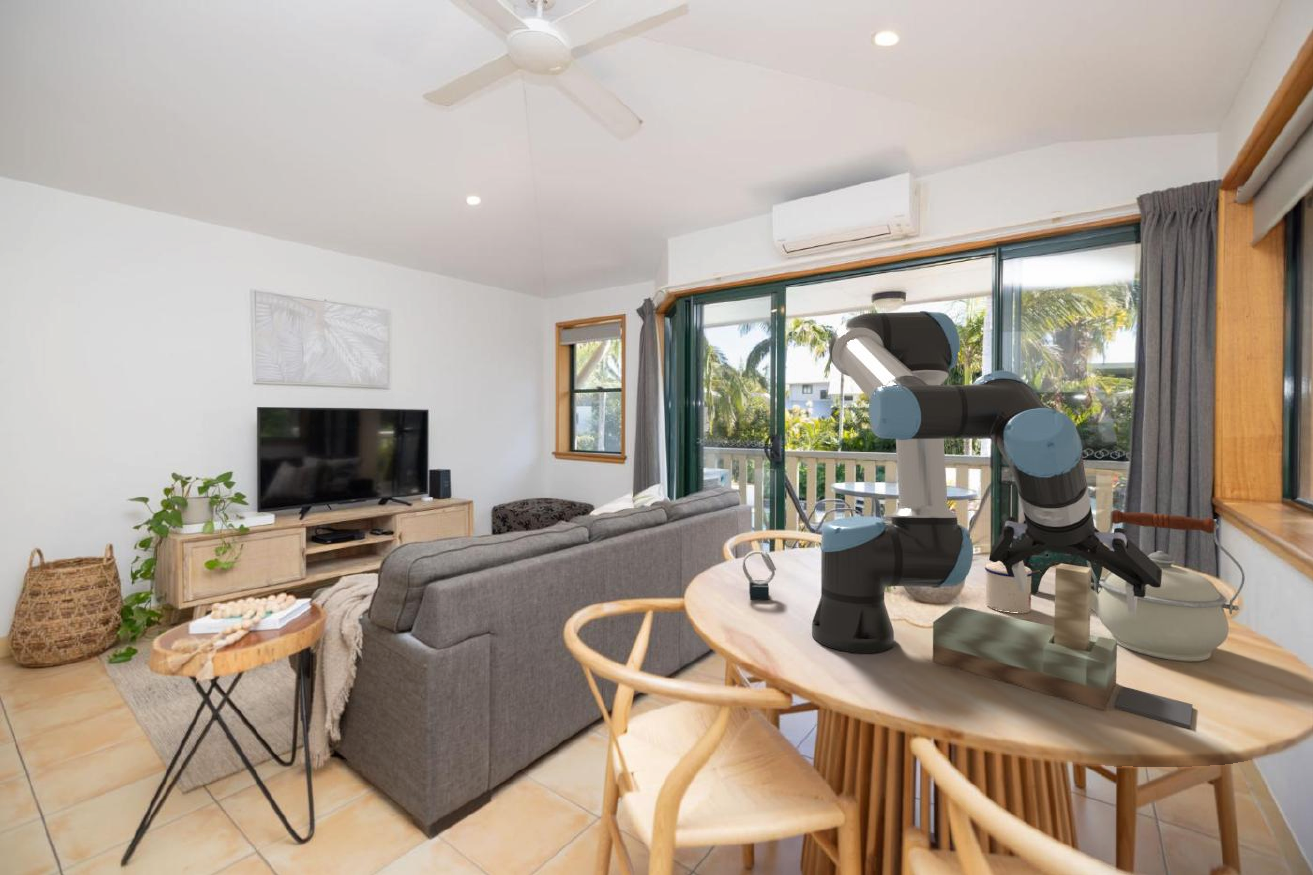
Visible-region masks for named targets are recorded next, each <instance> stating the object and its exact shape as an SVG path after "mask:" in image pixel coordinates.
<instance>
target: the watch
mask: <svg viewBox="0 0 1313 875" xmlns="http://www.w3.org/2000/svg"><path fill="white" fill-rule="evenodd" d="M755 554H757V555H758V554H760V555H761V557H762V560H763V562H764V563H765V566H766V568H767V569H768V570H769V571H770V572H771V575H770V576H769V577H768V578H767V579H765V580H763V579H762V580H761V579H759V580H758V579H756V580H755V579H753V576H752V575H751V574H750V573H749V570H748V569H747V566H746V560H747V559H748V558H749V557H750V556H752V555H755ZM742 570H743V573H744V575H745V578H746V579H747V580H748V585H749V586H748V587H749V590H748V592H749V599H750V600H751V601H753V600H756V601H769V600H770V598H769V596H770V592H769V591H770V589H769V588H770V587H769V583H770V582H771V581H772V580H773V579H774V577H775V574H776V573H775V571H777V568H776V565H775V564H774V562H773V559H772V558H771V556H770V554H769V553H768V552H767V551H763V550H758V549H755V550H751V551H749V552H748V553H747V554H745V556H744V557H743V560H742Z"/></svg>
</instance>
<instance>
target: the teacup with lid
mask: <svg viewBox="0 0 1313 875" xmlns="http://www.w3.org/2000/svg"><path fill="white" fill-rule="evenodd" d="M1024 567H1025V566H1024ZM984 570H985V605H986V606H987V607H988V606H989V607H988V608H990V607H991V608H990V609H992V608H993V609H992V610H994V609H997V610H1002V611H1009V612H1018V613H1024V614H1027V613H1030V611H1031V610H1032V609H1031V608H1032V607H1031V606H1032V593H1031V576H1032V574H1033V573H1032V571H1031V569H1030V568H1028V567H1025V570H1026V573H1027V577H1028V580H1027V584H1026V589H1025V592H1020V591H1019V589H1018V586H1017V583H1016V580H1015V576H1012V575H1009V574H1008V573H1007V570H1006V567H1005V565H1003V563H1002V562H1000V561H998V562H990V563H986V565H985V566H984ZM997 610H996V611H997Z"/></svg>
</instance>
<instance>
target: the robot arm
mask: <svg viewBox="0 0 1313 875" xmlns="http://www.w3.org/2000/svg"><path fill="white" fill-rule="evenodd" d="M960 351H961V341H960V335H959V330H958V329H957V326H956V323H955V322H954V321H953V319H952V318H951V317H950V316H948V314H946V313H944V312H938V311H937V312H936V311H935V312H934V311H925V310H921V311H913V312H912V311H908V312H906V311H905V312H904V311H903V312H902V311H901V312H868V313H862V314H860V315H856V316H854V317H852V318H849V319H848V320H846V321H845V322H843V323H842V324H841V325H840V326H838V328H836V330H835V331H834V333H833V334H832V336H831V338H830V342H829V345H828V353H829V358H830V360H831V363H832V364H833V366H834V367H835V368H836V369H837V370H838V371H839V372H840V373H841V374H843V375H845V376H848V377H850V378H851V379H852V380H853V381H854V382H855V384H856V385H857V386H858V387H859V389H860V390H861V391H862V392H863V394H864V395H865V396H866V398H868V400H869V402H868V421H869V424H870V429H871V432H872V433H873V434H874V436H876V437H878V438H880V439H889V440H890V439H891V440H892V439H893V440H895V443H896V444H895V445H896V446H895V447H896V468H897V487H898V488H897V489H898V490H897V491H898V507H897V509H896V510H895V511H894V512H893V513H892V514H891V524H886V521H885V520H884V519H883V518H882V517H878V516H868V515H867V516H864V515H861V516H857V515H856V516H847V517H842V518H837V519H833V520H831V521H829V522H827V523H826V524H825V525H824V526H823V527H822V530H821V531H822V532H821V541H820V542H821V543H820V545H819V546H820V552H821V554H820V555H821V558H820V560H821V562H820V563H821V565H820V566H821V567H820V568H821V570H820V573H821V576H820V579H821V583H820V584H821V587H820V588H821V590H820V592H821V593H820V595H821V596H820V599H819V600H818V601H819V602H818V604H817V607H816V610H815V613H814V616H813V620H812V622H811V636H812V637H813V638H814V640H815V641H817V642H818V643H820V644H821V645H824V646H826V647H828V648H832V649H835V650H838V651H840V652H841V651H842V652H846V653H853V654H854V653H855V654H856V653H857V654H876V653H882V652H886V651H888V650H890V649H891V648H892V647H894V645H895V631H894V628H893V625H892V624H893V623H892V620H891V619H890V615H889V613H888V609H887V606H886V603H885V588H886V587H911V588H912V587H913V588H914V587H924V588H927V587H928V588H929V587H931V588H933V589H939V588H945V587H946V588H947V587H949V588H950V587H951V588H952V587H956V586H958V585H960V584H962V583H963V582H964V581H965V580H966V578H967V576H969V573H970V571H971V568H972V564H973V557H974V551H973V550H974V546H973V545H974V544H973V541H972V538H971V534H970V532H969V530H968V529H967V528H966V527H965V526H963V525H961V524H958V515H957V514H956V513H955V512H954V511H952V510H951V508H949V505H948V489H947V473H946V472H947V471H946V456H945V453H946V452H945V440H946V439H948V440H950V439H953V440H956V439H957V440H960V439H963V440H974V439H975V440H976V439H977V440H979V439H980V440H983V439H985V440H986V439H988V440H989V439H990V441H992V443H993V444H994V445H995V447H996V448H997V450H998V451H999V453H1000V454H1001V455H1002V456H1003V458H1004V459H1005V461H1006V462H1007V465H1008V466H1009V468H1010V470H1011V473H1012V475H1013V479H1014V481H1015V485H1016V490H1017V493H1018V497H1019V500H1020V504H1021V508H1022V511H1023V517H1024V521H1025V520H1026V524H1022V523H1023V522H1017V518H1015V517H1013V516H1007V517H1006V520H1005V524H1004V527H1003V528H1004V529H1003V531H1002V532H1001V534H999V537H998V538H997V539H996V540H995V542H994V543H993V545H992V546H991V550H990V553H989V559H988V560H989V561H990V562H991V563H994V562H998V561H1000V562H1002V563H1003V565H1005V567H1006V570H1007V573H1008V574H1009V575H1012V576H1015V580H1016V583H1017V586H1018V589H1019V591H1020V592H1025V589H1026V584H1027V580H1028V577H1027V573H1026V570H1025V567H1024V563H1023V560H1024V559H1026V558H1028V557H1030V556H1032V555H1034V554H1037V555H1038V554H1040V553H1042V552H1044V551H1046V550H1050V551H1051V552H1055V553H1066V554H1070V555H1076V556H1077V554H1078V555H1079V556H1081V557H1082V558H1084V559H1086V560H1087V561H1089V562H1096V563H1097V564H1099V565H1101V566H1102V568H1103V569H1106V570H1107V571H1108V572H1109V571H1110V572H1112V573H1113V574H1115V575H1117V576H1118V577H1120V578H1121V579H1123V580H1125V581H1126V585H1125V588H1126V595H1127V603H1128V610H1129V612H1133V613H1136V605H1137V597H1145V592H1146V585H1148V584H1149V585H1150V586H1152V587H1155V588H1158V587H1161V579H1162V570H1161V569H1160V568H1159V567H1158V566H1157V565H1156V564H1155V563H1154V562H1153V561H1152V560H1151V559H1150V558H1149V557H1148V555H1147V554H1146V553H1144V552H1143V550H1141V549H1140V548H1139V547H1138V546H1137V545H1136V544H1135V543H1134V542H1132V541H1131V539H1130V538H1129V536H1128V534H1127V531H1126V529H1124V528H1122V527H1115V528H1114V529H1113V532H1110V533H1107V532H1105V531H1104V532H1103V531H1102V532H1101V531H1099V529H1098V528H1096V527H1095V522H1094V515H1093V510H1092V506H1091V498H1090V493H1089V488H1088V482H1087V476H1086V471H1085V463H1084V458H1083V446H1082V443H1083V442H1082V439H1081V436H1080V434H1079V433H1078V430H1077V426H1076V424H1075V422H1074V420H1073V419H1072V418H1071V417H1070V416H1069V415H1067V414H1066V413H1064V412H1059V411H1057V410H1055V409H1053V408H1048V407H1046V405H1045V404H1044V403H1043V401H1042V400H1041V399H1040V398H1039V396H1038V395H1037V392H1036V391H1035V389H1033V387H1032V386H1031V385H1029V384H1028V383H1027V382H1025V381H1024V380H1023V379H1022V378H1021V376H1020V375H1018V374H1016V373H1014V372H1012V371H1010V370H1009V371H1008V370H995V371H992V372H991V373H988V374H983V375H982V376H979V377H978V378H977V379H976V380H975V381H974V382H973V383H972V384H955V385H954V384H948V385H947V384H945V385H944V384H943V383H944V382H945V381H946V380H947V379H948V378H949V375H950V374H949V370H952V369H954V368H955V366H956V365H957V363H958V362H959V361H958V360H959V358H960V356H959V353H960ZM1022 533H1026V535H1027V536H1028V538H1026V539H1025V540H1023V541H1021V542H1019V543H1018V544H1017V543H1016V544H1014V545H1013V546H1011V545H1012V543H1013V541H1014V538H1015V539H1016V538H1017V537H1018V536H1020V535H1021V534H1022ZM1088 550H1089V551H1088Z"/></svg>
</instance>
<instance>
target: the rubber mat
mask: <svg viewBox="0 0 1313 875" xmlns="http://www.w3.org/2000/svg"><path fill="white" fill-rule="evenodd" d="M1115 709H1118V710H1121V711H1125V712H1128V713H1132V714H1135V715H1138V716H1143V717H1146V718H1149V719H1154V720H1157V721H1161V722H1164V723H1167V724H1171V725H1175V726H1178V727H1181V728H1185V729H1187V730H1188V729H1189V730H1191V724H1192V716H1193V703H1189V702H1184V701H1180V700H1178V699H1174V698H1170V697H1165V696H1161V695H1157V694H1154V693H1150V692H1146V691H1142V690H1139V689H1134V688H1131V687H1127V686H1122V687H1121V690H1120V692H1119V695H1118V698H1117V700H1116V703H1115Z"/></svg>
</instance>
